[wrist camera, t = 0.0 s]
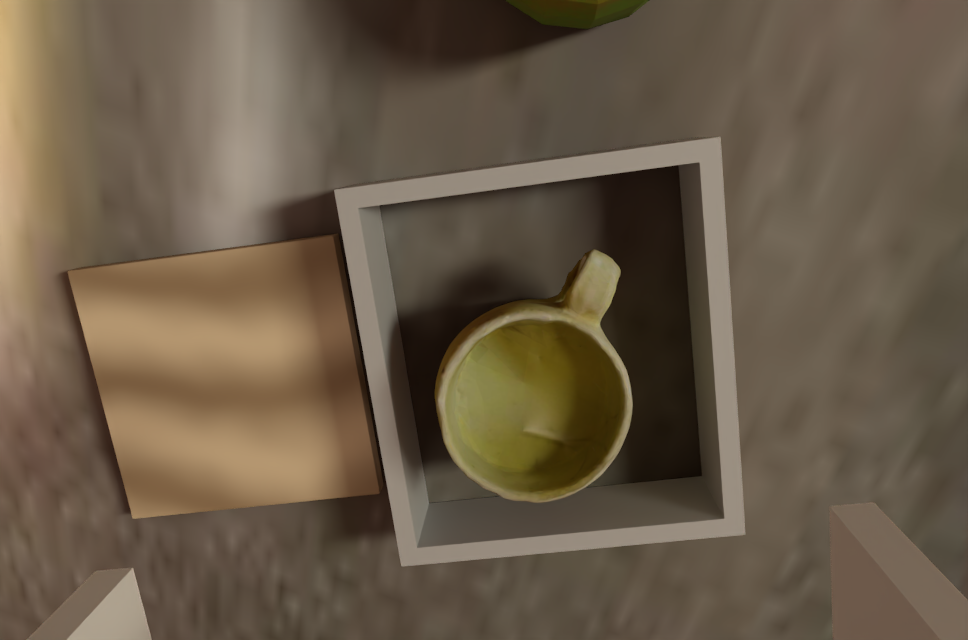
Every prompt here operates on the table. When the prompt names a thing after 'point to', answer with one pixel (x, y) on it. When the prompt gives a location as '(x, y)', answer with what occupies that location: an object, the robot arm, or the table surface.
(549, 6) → the apple
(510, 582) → the table surface
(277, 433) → the board
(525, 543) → the tub
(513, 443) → the mug
